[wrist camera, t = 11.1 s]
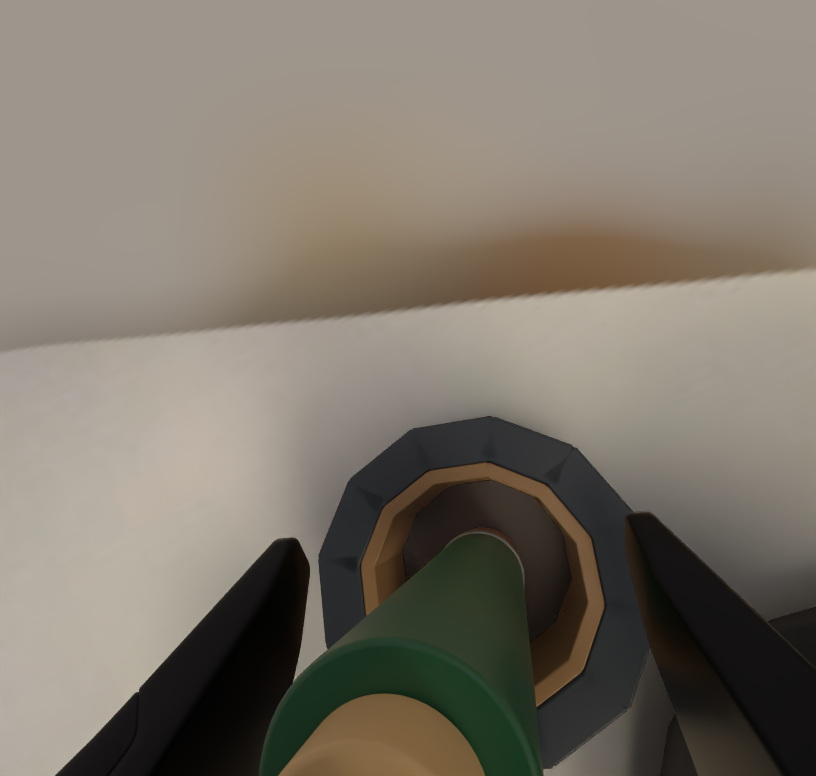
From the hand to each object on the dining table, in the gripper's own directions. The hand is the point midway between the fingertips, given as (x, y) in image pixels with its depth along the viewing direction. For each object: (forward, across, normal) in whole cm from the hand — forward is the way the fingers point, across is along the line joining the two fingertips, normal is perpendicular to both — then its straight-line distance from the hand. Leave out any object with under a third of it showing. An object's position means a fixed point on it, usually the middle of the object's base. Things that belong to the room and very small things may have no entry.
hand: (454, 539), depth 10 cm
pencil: (+4, 0, +6) cm, 7 cm away
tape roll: (+4, 0, +6) cm, 7 cm away
